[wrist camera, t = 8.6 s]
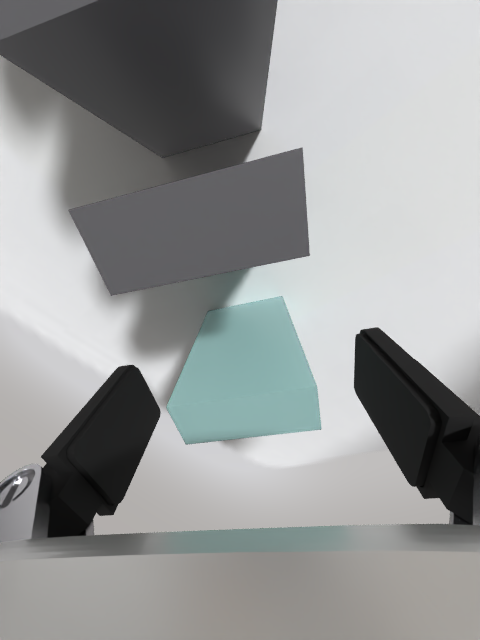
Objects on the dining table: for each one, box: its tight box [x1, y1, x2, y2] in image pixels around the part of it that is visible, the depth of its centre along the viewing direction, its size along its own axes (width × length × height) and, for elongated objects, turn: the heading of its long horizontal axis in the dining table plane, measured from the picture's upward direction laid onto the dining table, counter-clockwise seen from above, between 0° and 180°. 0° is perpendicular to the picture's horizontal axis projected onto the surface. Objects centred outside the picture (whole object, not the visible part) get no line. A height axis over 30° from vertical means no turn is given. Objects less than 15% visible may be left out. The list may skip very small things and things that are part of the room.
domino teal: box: [166, 296, 321, 444], centre depth 11 cm, size 2×5×8 cm, turn 103°
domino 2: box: [69, 148, 310, 296], centre depth 8 cm, size 2×5×8 cm, turn 102°
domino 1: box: [0, 0, 278, 158], centre depth 6 cm, size 2×5×8 cm, turn 102°
